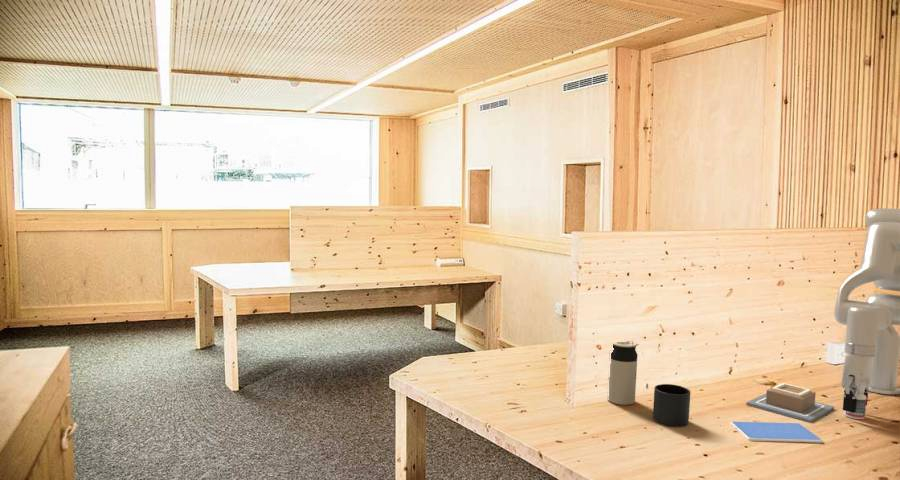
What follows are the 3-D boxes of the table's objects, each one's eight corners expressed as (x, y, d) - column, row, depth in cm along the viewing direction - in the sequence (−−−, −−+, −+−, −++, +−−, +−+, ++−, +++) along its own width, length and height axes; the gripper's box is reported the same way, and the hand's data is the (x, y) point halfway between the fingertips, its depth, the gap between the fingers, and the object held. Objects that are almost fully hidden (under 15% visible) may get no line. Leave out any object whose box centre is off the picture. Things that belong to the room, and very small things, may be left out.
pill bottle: (868, 420, 186) (870, 390, 185) (847, 418, 187) (850, 388, 186) (860, 414, 191) (863, 384, 191) (840, 412, 192) (843, 382, 192)
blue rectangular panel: (748, 443, 169) (748, 438, 169) (728, 424, 182) (729, 420, 181) (824, 445, 169) (824, 440, 169) (799, 427, 181) (799, 422, 181)
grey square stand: (772, 393, 209) (773, 375, 208) (834, 409, 195) (835, 390, 195) (746, 404, 197) (747, 386, 196) (810, 422, 183) (812, 403, 183)
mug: (678, 412, 189) (680, 381, 188) (693, 427, 177) (695, 395, 176) (645, 411, 189) (647, 380, 188) (658, 427, 177) (660, 394, 176)
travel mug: (605, 403, 195) (608, 343, 193) (609, 395, 202) (612, 338, 201) (633, 407, 192) (636, 347, 190) (636, 399, 199) (639, 341, 198)
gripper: (855, 342, 196) (850, 398, 198) (834, 351, 185) (829, 410, 186) (884, 347, 190) (879, 405, 192) (864, 356, 179) (859, 418, 181)
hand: (854, 407), depth 189 cm, fingers open, 8 cm apart
